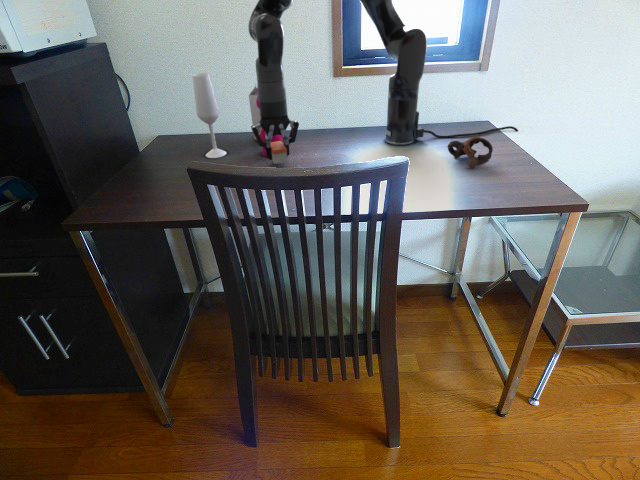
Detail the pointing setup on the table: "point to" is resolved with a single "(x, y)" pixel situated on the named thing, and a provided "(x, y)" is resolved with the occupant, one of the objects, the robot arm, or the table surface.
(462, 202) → the table surface
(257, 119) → the milk carton
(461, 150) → the brown looped ring
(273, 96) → the robot arm
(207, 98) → the champagne flute
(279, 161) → the sushi
